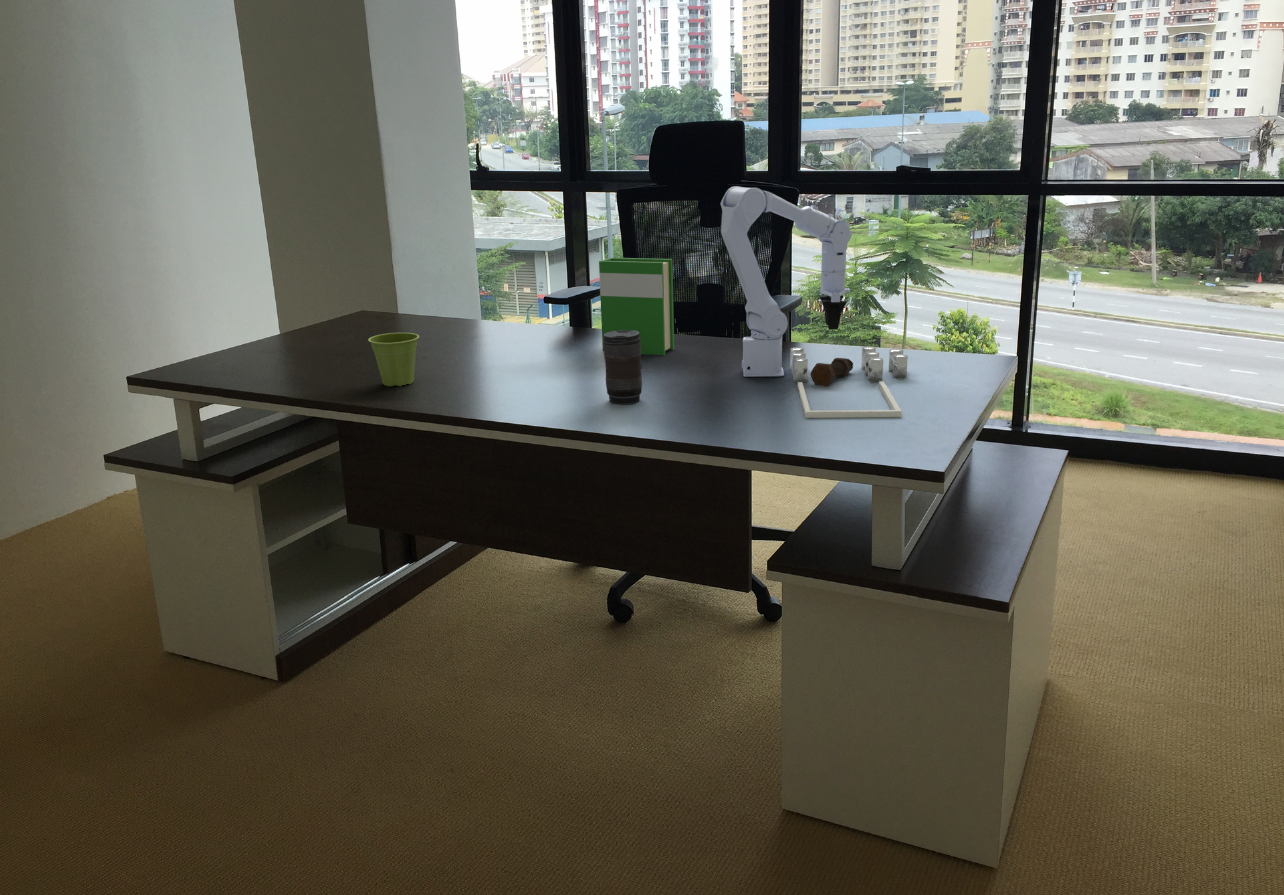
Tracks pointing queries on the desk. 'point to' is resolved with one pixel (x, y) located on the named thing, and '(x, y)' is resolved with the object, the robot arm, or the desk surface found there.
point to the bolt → (830, 371)
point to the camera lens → (623, 366)
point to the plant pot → (395, 357)
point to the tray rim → (852, 413)
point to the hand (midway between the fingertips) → (831, 327)
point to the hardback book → (638, 300)
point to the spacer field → (869, 364)
